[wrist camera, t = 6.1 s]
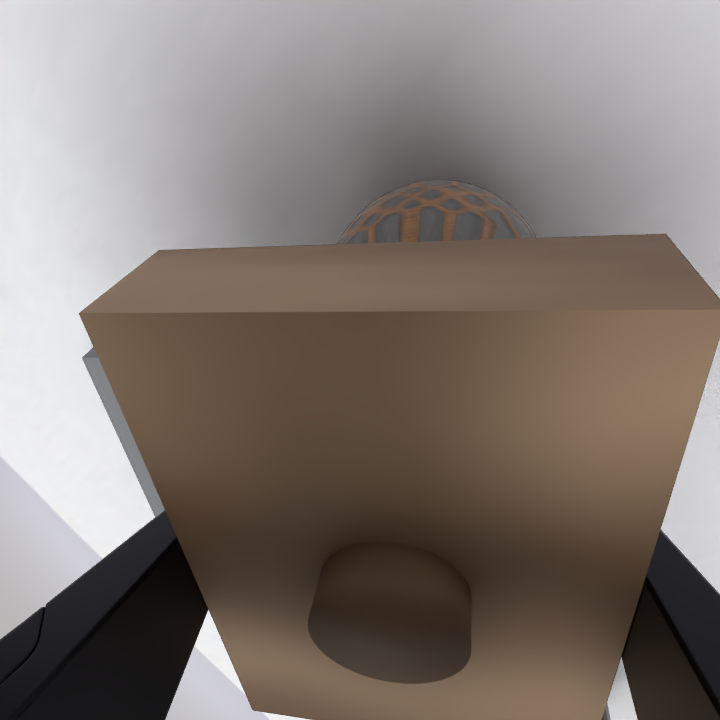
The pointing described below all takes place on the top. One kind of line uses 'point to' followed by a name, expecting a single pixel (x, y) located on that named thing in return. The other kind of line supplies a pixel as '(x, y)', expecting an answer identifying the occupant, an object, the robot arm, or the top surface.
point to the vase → (436, 216)
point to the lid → (415, 458)
